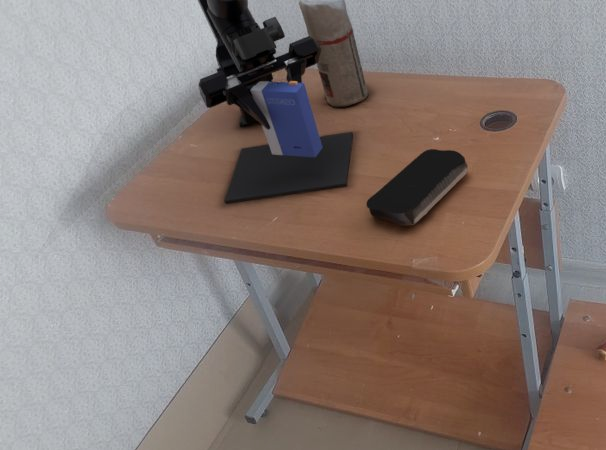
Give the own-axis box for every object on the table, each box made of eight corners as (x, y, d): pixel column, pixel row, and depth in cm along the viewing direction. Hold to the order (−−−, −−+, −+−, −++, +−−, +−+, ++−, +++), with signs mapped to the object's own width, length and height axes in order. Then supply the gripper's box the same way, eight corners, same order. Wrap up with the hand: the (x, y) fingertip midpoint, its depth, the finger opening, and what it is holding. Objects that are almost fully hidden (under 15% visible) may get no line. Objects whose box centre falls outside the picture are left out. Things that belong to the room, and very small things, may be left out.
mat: (242, 151, 124) (241, 148, 124) (353, 134, 123) (352, 131, 122) (225, 203, 113) (223, 201, 112) (346, 186, 111) (345, 183, 111)
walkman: (323, 147, 111) (303, 80, 104) (315, 157, 109) (295, 90, 102) (279, 144, 114) (257, 78, 106) (271, 154, 112) (248, 87, 104)
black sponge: (409, 237, 100) (405, 217, 97) (366, 219, 104) (360, 200, 102) (474, 173, 109) (471, 154, 106) (431, 160, 113) (427, 141, 111)
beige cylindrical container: (326, 90, 136) (297, -9, 124) (368, 82, 136) (342, -18, 124) (326, 112, 130) (294, 10, 117) (369, 104, 130) (342, 1, 117)
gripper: (174, 29, 96) (228, 129, 95) (298, -17, 102) (349, 77, 101) (181, 61, 106) (230, 151, 106) (293, 18, 112) (339, 103, 112)
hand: (287, 120), depth 106 cm, fingers closed on walkman, 6 cm apart
